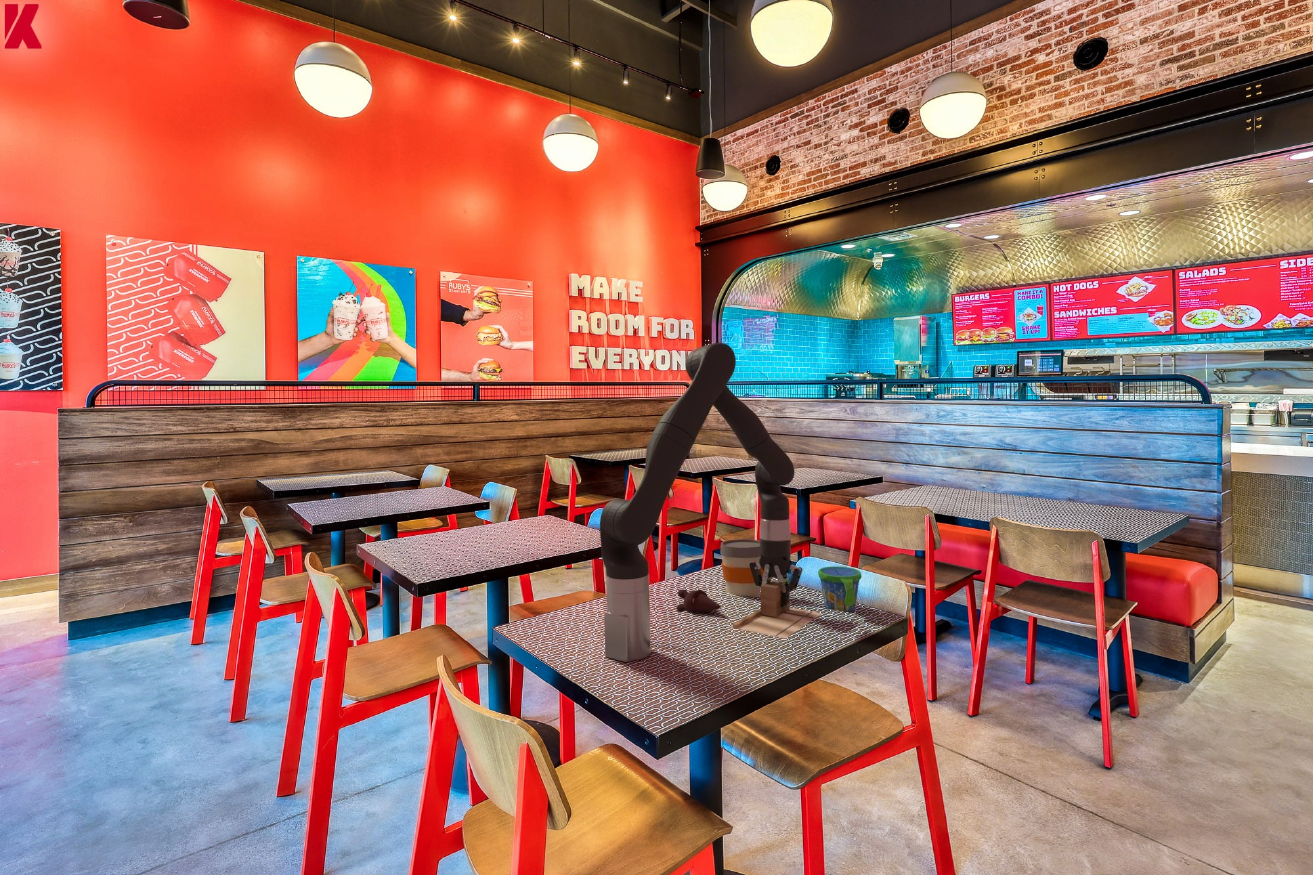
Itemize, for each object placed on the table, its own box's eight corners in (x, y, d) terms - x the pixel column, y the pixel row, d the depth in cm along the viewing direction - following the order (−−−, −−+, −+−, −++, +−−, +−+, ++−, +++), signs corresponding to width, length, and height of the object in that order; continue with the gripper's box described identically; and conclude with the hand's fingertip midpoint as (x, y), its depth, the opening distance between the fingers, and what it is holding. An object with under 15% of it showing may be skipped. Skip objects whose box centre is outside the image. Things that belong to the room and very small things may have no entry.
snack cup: (869, 619, 155) (868, 578, 155) (825, 619, 156) (825, 578, 155) (853, 601, 170) (852, 563, 170) (813, 601, 171) (813, 564, 171)
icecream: (731, 593, 158) (688, 587, 169) (711, 591, 154) (669, 585, 165) (729, 621, 157) (686, 614, 168) (708, 620, 152) (666, 613, 163)
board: (785, 645, 139) (785, 634, 139) (730, 633, 147) (729, 623, 147) (822, 619, 156) (822, 610, 156) (770, 610, 164) (770, 601, 164)
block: (775, 616, 153) (775, 587, 153) (760, 614, 155) (760, 585, 155) (791, 608, 160) (791, 581, 160) (776, 606, 163) (777, 579, 163)
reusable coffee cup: (722, 603, 171) (721, 548, 171) (719, 590, 184) (718, 539, 183) (769, 602, 171) (768, 547, 170) (763, 589, 184) (762, 538, 183)
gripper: (742, 536, 158) (743, 604, 159) (795, 541, 150) (796, 613, 150) (756, 531, 164) (757, 597, 165) (808, 537, 156) (808, 606, 156)
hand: (775, 604), depth 157 cm, fingers closed on block, 4 cm apart
